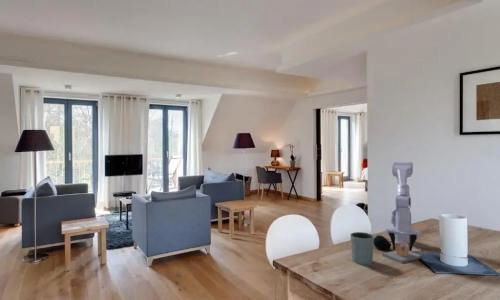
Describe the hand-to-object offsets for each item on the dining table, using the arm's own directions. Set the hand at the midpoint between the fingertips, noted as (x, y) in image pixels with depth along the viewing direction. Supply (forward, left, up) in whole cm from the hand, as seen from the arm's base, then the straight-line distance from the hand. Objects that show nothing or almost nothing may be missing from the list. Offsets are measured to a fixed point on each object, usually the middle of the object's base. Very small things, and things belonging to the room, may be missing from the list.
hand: (402, 249), depth 150 cm
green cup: (+21, -5, -4) cm, 22 cm away
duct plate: (0, 0, -3) cm, 3 cm away
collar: (0, 0, -2) cm, 2 cm away
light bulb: (-1, -10, -4) cm, 11 cm away
